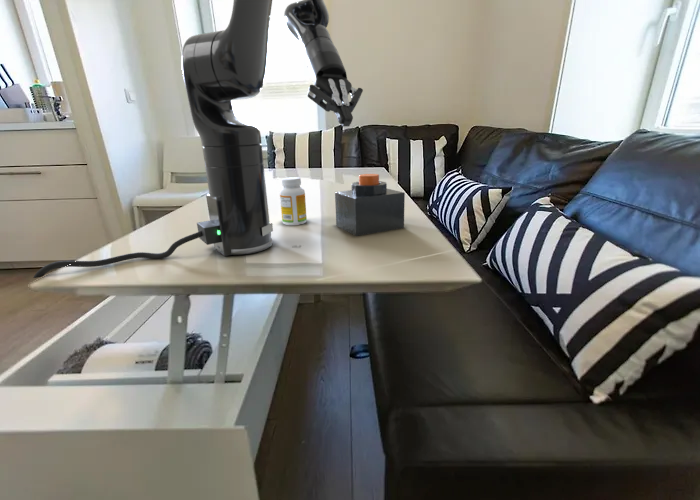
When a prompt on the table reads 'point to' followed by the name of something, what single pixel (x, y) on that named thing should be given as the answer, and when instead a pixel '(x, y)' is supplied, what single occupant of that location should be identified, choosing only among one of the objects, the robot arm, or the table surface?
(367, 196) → the push button base
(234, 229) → the robot arm
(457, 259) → the table surface
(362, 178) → the orange push button
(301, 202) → the supplement bottle
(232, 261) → the table surface
